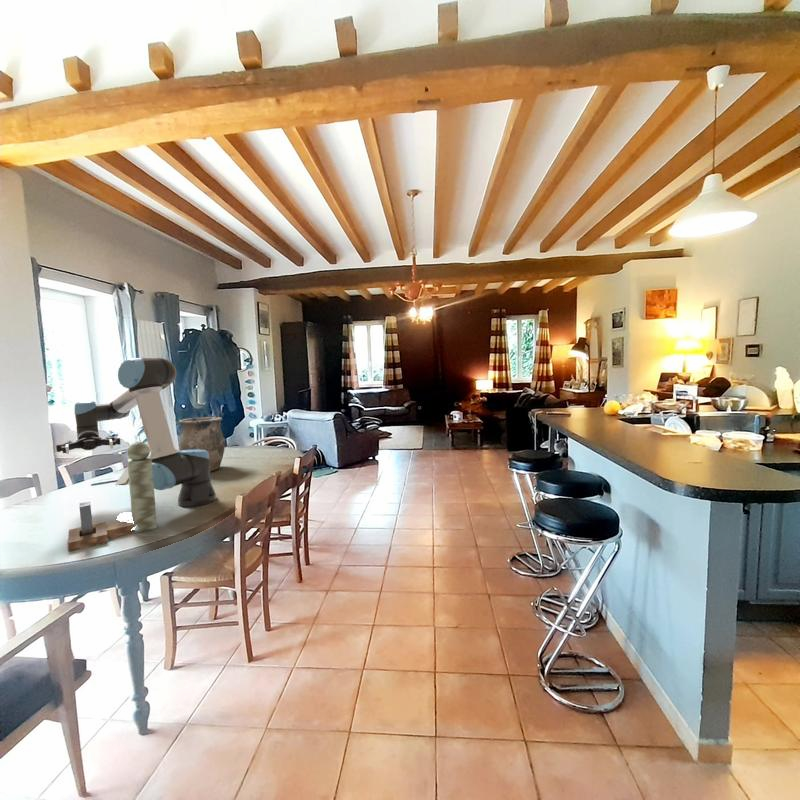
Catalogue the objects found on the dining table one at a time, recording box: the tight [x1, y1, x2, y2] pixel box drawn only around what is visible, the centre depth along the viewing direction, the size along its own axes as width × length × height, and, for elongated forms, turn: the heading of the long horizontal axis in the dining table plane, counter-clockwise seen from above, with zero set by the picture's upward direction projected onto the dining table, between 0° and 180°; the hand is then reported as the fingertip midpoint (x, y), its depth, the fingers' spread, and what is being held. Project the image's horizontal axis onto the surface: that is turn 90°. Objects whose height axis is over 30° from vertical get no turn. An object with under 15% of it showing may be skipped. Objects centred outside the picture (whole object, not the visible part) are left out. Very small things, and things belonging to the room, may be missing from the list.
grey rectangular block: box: [79, 501, 93, 536], centre depth 144 cm, size 3×5×13 cm, turn 38°
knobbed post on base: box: [67, 441, 158, 553], centre depth 147 cm, size 26×14×32 cm, turn 128°
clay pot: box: [178, 416, 226, 473], centre depth 234 cm, size 22×23×30 cm
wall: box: [114, 466, 129, 486], centre depth 218 cm, size 16×9×15 cm
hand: (90, 447), depth 157 cm, fingers open, 13 cm apart
